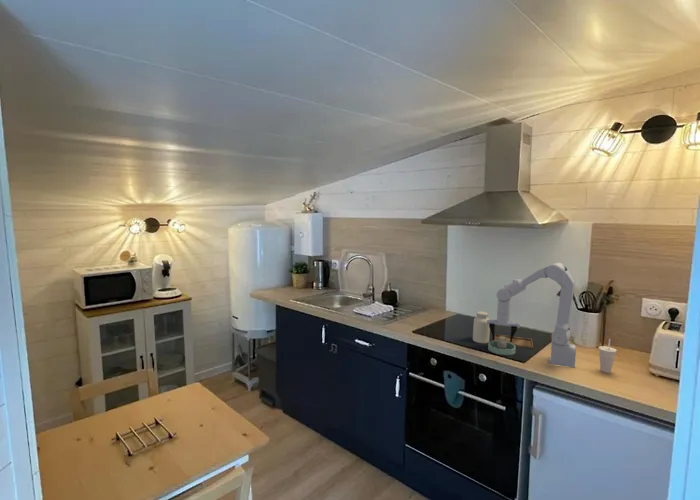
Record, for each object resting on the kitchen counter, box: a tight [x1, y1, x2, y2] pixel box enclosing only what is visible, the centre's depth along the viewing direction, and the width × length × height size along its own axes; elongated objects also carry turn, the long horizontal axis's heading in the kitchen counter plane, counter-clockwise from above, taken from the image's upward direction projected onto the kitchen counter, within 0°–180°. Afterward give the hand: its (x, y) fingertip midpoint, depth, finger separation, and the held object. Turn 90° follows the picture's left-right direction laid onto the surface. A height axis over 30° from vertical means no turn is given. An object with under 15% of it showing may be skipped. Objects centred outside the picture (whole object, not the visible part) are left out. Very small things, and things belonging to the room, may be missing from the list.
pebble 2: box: [497, 340, 507, 349], centre depth 182 cm, size 4×4×5 cm
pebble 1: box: [498, 336, 507, 342], centre depth 187 cm, size 4×4×5 cm
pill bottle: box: [472, 310, 491, 344], centre depth 197 cm, size 8×8×15 cm
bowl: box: [487, 340, 517, 356], centre depth 185 cm, size 12×12×3 cm
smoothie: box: [598, 338, 618, 374], centre depth 163 cm, size 6×6×14 cm
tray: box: [493, 333, 534, 349], centre depth 196 cm, size 18×12×2 cm, turn 68°
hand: (502, 340), depth 187 cm, fingers open, 7 cm apart
